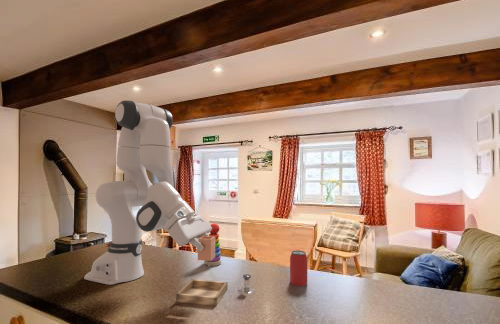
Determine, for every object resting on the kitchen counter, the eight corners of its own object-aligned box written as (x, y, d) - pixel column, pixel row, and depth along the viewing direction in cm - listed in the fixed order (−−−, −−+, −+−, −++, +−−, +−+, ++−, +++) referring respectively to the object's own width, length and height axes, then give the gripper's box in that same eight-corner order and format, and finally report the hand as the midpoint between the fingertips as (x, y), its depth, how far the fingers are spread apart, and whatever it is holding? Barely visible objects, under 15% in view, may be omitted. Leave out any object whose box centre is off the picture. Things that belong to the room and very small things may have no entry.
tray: (176, 303, 85) (176, 294, 85) (192, 287, 97) (192, 279, 97) (216, 308, 82) (216, 298, 82) (227, 290, 94) (227, 282, 95)
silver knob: (235, 296, 90) (236, 278, 91) (240, 288, 97) (240, 271, 97) (254, 298, 89) (254, 280, 89) (257, 290, 95) (257, 273, 96)
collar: (197, 260, 88) (198, 238, 88) (202, 256, 92) (203, 235, 93) (210, 260, 87) (211, 239, 87) (215, 256, 92) (215, 236, 92)
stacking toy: (218, 267, 119) (218, 225, 120) (201, 265, 120) (202, 224, 121) (223, 261, 127) (223, 222, 128) (207, 260, 128) (208, 221, 129)
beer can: (286, 283, 101) (286, 252, 102) (296, 279, 106) (296, 248, 106) (301, 289, 96) (301, 255, 97) (310, 283, 101) (310, 252, 102)
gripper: (190, 219, 104) (213, 246, 100) (159, 228, 84) (186, 262, 81) (201, 208, 103) (224, 234, 99) (172, 214, 83) (199, 248, 80)
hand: (207, 247), depth 90 cm, fingers closed on collar, 5 cm apart
